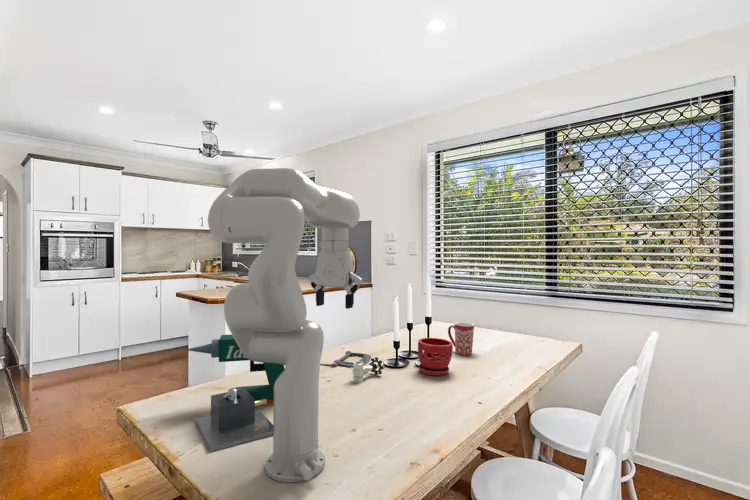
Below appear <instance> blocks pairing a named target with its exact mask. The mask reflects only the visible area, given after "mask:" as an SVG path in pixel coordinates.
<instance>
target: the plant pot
mask: <svg viewBox="0 0 750 500" xmlns="http://www.w3.org/2000/svg"><path fill="white" fill-rule="evenodd" d="M453 347H454V345H453V343H452V341H451V340H447V339H445V338H437V337H424V338H420V339H418V341H417V352H418V360H419V362H420V364H419V365H418V369H419V370H420V372H421V373H423V374H425V375H429V376H443V375H446V374H447V373H449V371H450V367H449V365H450V363H451V360H452V357H453Z"/></svg>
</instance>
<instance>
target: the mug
mask: <svg viewBox="0 0 750 500" xmlns="http://www.w3.org/2000/svg"><path fill="white" fill-rule="evenodd" d="M452 328H453V329H454V338H453V336H452V332H451V331H452V330H451V329H452ZM474 332H475V324H474V323H473V322H467V321H457V322H454V325H450V326H448V328H447V334H448V337H449V341H450V342H452V343H453V347H455V350H454V352H455V354H456V355H459V356H463V355H465V356H467V355H469V356H471V355H473V346H474V343H473V342H474V335H475V334H474Z"/></svg>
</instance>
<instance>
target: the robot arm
mask: <svg viewBox="0 0 750 500" xmlns="http://www.w3.org/2000/svg"><path fill="white" fill-rule="evenodd" d="M306 222H307V224H308V225H309V226H310V227H312V228H315V229H321V233H322V235H321V242H319V243H318V247H319V248H321V251H319V253H318V256H317V260H316V267H315V268H316V269H315V272H314V273H312V274H311V275H308V280H309V283H310V286H311V288H312V289H313V292H314V293H315V305H316V307H320V306H324V305H325V291H323V290H324V289H325V288H327V287H328V288H343V289H344V291H345V292H346V294H345V309H348V310H349V309H353V307H354V303H355V300H354V299H355V293H357V291H358V290H359V289H360V287H361V285H362V283H363V278H362V277H360V276H358V275H357V274H356V273H354V272H353V271H354V270H353V261H352V255H351V252H350V251H349V229H352V228H354V227H356V226H357V225H358V223H359V222H360V208H359V205H358V203H357V201H356V200H355V198H353V197H352V195H350V194H348V193H345V192H342V191H338V190H335V189H331V188H329V187H328V188H327V187H324V186H320V185H317V184H316V183H315V182H314V181H313V180H311V179H310V178H309V177H308V176H306V174H304V173H303V172H301V170H298V169H293V168H289V167H287V168H285V167H283V168H281V167H280V168H278V167H277V168H253V169H249V170H247V171H245V172H243V173H242V174H240V175H239V176H237V178H235V179H234V180H233V181H232V182H231V183H230V184H229V185H228V186H227V187H226V188H225V189H224V190H223V191H222V192H221V193H220V194H219V195H218V196H217V197H216V198H215V199H214V201H213V203H212V204H211V206H210V208H209V211H208V216H207V224H208V228H209V231H210V233H211V234H212V236H213V237H214V238H215V239H217V240H218V241H219V242H222V243H225V244H246V245H248V244H255V245H256V244H259V245H260V244H261V245H264V246H263V248H262V249H261V252H260V253H259V254H258V255H257V256H256V258H255V259H254V260H253V262H252V264H251V266H250V267H249V270H248V274H247V280H248V282H244V283H243V282H242V283H240V284H236V285H234V286H233V287H232V288H231V289H230V290H229V291H228V292H227V294H226V296H225V298H224V299H225V300H224V303H223V304H224V305H223V306H224V307H223V315H224V319H225V324H226V326H227V327H228V330H229V332H230V334H231V335H233V337H234V339H235V341H236V342H237V344H238V346H239V348H240V350H241V351H242V353H243V355H244V356H245V357H246V358H247V359H249V360H248V361H250V360H251V361H254V363H263V362H264V363H278V364H283V365H284V368H285V370H284V371H283V372H282V373H281V374H280V376H279V377H278V378H277V380H276V382H275V385H274V403H273V415H272V416H273V419H272V420H273V423H272V424H273V435H272V436H273V437H272V444H273V445H272V454H270V455H269V456H268V457H267V458H266V461H265V463H264V465H265V466H264V468H265V472H266V474H267V475H268V476H269V478H271V479H272V480H275V481H279V482H281V483H282V482H283V483H296V482H302V481H310V480H311V479H312V478H314V477H315V476H317V475H319V474H320V473H321V471H323V469H324V467H325V464H326V457H325V455H324V454H323V452H322V451H320V450H319V401H320V400H319V399H320V398H319V397H320V396H319V395H320V394H319V393H320V391H319V387H320V386H319V381H320V367H321V365H320V364H321V360H322V354H323V347H324V341H325V335H324V330H323V329H322V327H321V326H320V325H319V324H318V323H316V322H315V321H312V320H308V319H307V316H308V315H307V313H308V312H307V304H306V301H305V298H304V295H303V292H302V288H301V286H300V282H299V278H298V276H297V272H296V261H297V259H298V255H299V251H300V247H301V243H302V239H303V234H304V231H305V223H306ZM353 281H354V284H353Z"/></svg>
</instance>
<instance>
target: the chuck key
mask: <svg viewBox="0 0 750 500" xmlns="http://www.w3.org/2000/svg"><path fill="white" fill-rule="evenodd" d="M227 392H228V393H227V394H225V395H223V399H226V398H228V401H230V400H235V399H237V393H239V392H242V388H239V389H237V388H236V387H231V388H229V389H228V391H227Z"/></svg>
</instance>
